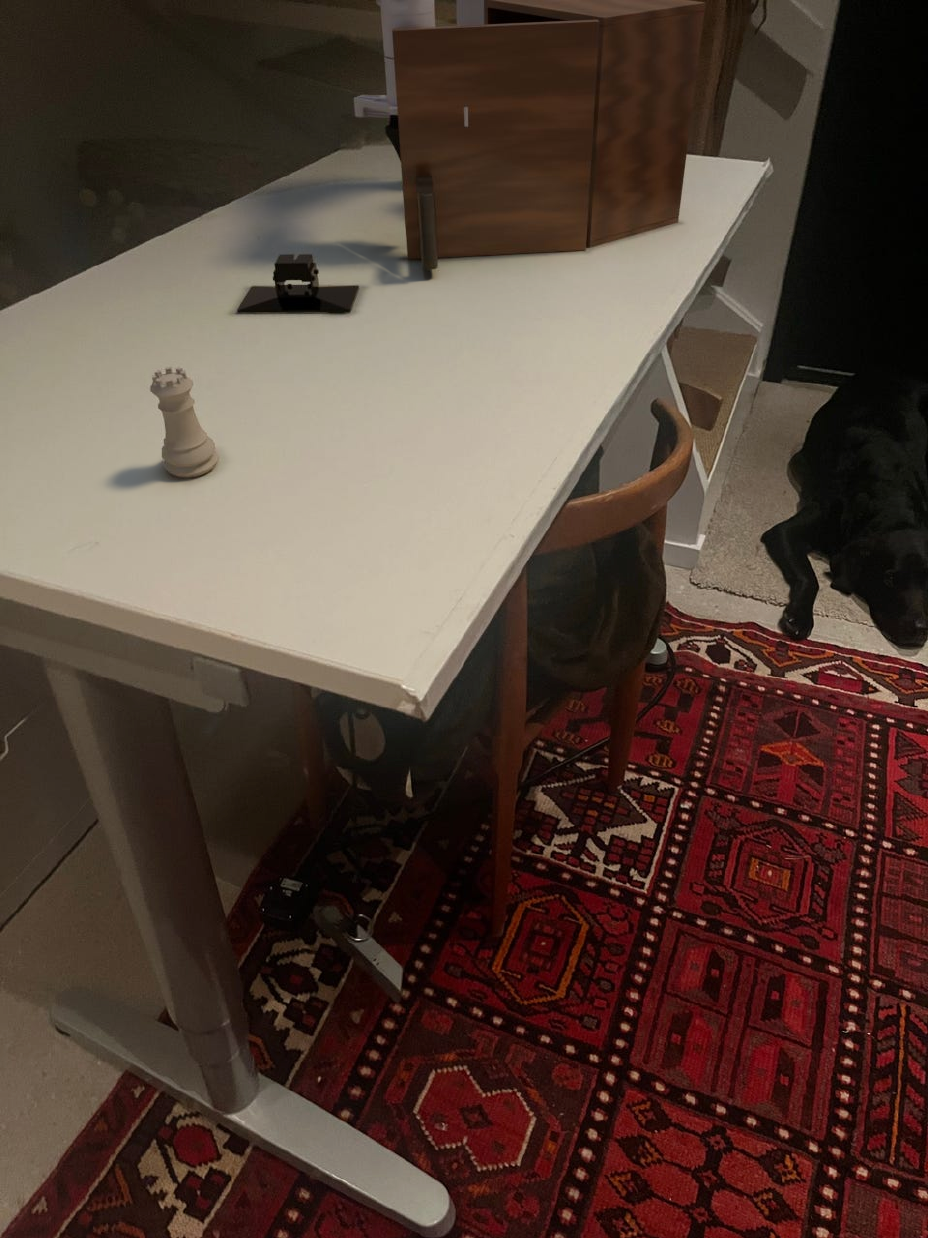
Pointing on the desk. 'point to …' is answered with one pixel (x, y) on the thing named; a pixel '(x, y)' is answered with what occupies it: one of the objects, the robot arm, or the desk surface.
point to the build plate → (298, 291)
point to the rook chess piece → (182, 426)
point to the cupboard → (631, 104)
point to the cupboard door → (495, 137)
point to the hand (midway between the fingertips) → (417, 188)
